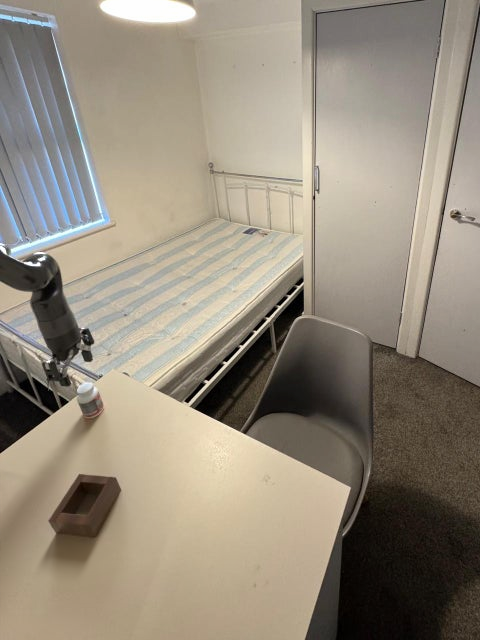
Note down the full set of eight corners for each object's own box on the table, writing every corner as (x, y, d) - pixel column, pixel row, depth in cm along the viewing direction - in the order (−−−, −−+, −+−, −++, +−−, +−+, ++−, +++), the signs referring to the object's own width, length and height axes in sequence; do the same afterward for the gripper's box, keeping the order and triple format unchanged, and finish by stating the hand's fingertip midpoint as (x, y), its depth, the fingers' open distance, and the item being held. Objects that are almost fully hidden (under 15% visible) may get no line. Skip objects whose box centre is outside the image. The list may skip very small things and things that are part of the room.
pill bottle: (105, 412, 95) (96, 389, 91) (84, 422, 93) (74, 399, 88) (103, 399, 99) (94, 377, 95) (82, 409, 97) (72, 386, 92)
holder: (55, 533, 69) (47, 521, 67) (85, 486, 78) (79, 473, 75) (95, 537, 68) (89, 525, 66) (121, 489, 77) (116, 477, 75)
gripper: (66, 309, 89) (83, 353, 96) (21, 346, 76) (45, 393, 83) (91, 310, 89) (107, 354, 96) (50, 347, 76) (72, 395, 83)
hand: (78, 372), depth 89 cm, fingers open, 8 cm apart
